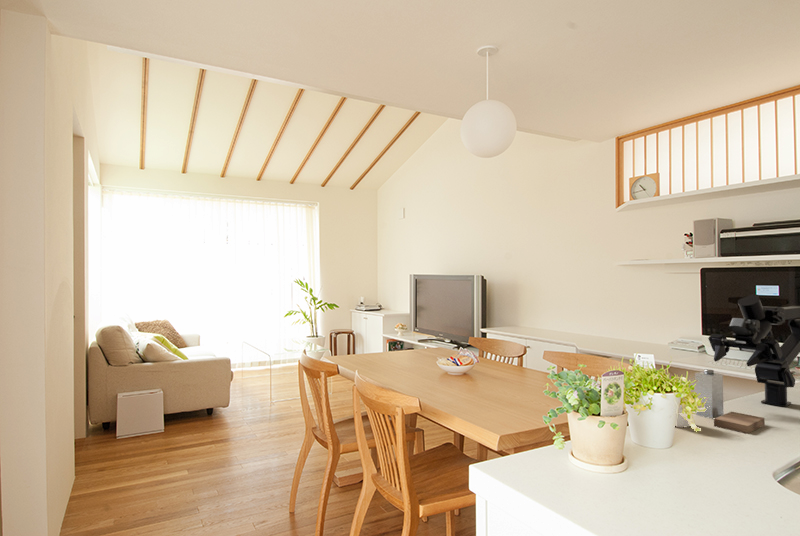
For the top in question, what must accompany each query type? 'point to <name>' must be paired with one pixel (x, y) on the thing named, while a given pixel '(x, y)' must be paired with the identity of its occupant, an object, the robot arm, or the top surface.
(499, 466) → the top surface
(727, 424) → the plinth
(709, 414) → the housing
